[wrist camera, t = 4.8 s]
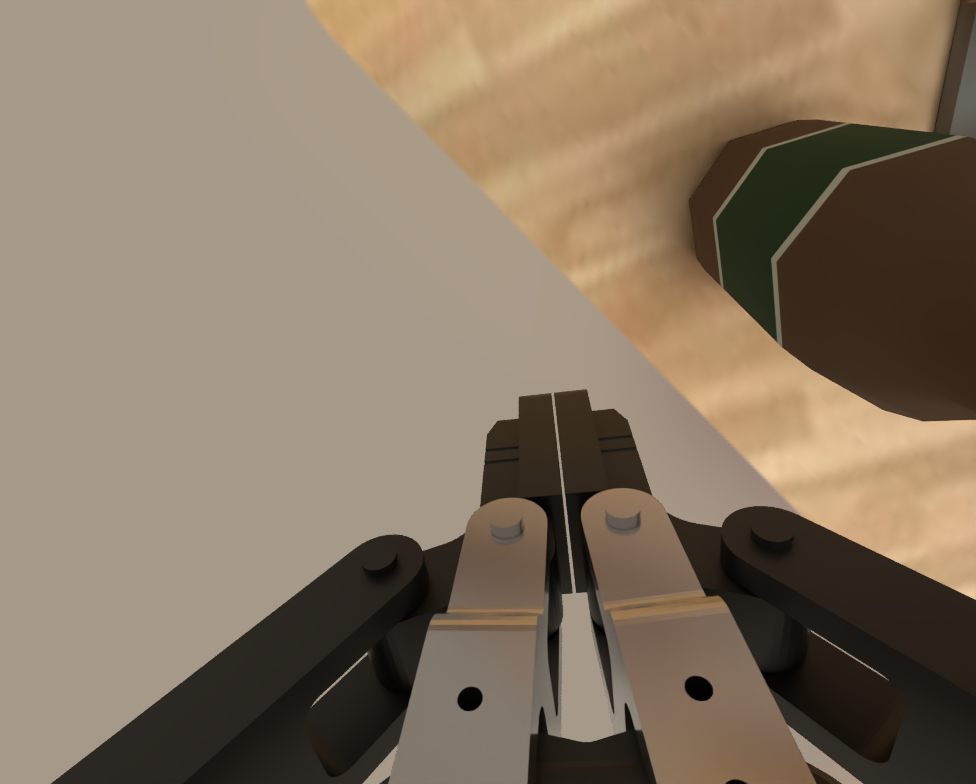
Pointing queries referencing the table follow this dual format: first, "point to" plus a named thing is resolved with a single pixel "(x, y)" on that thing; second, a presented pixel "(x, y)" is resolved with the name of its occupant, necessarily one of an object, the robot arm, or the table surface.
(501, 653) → the robot arm
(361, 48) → the table surface
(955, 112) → the cradle
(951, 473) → the table surface
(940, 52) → the table surface
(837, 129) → the beer bottle
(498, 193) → the table surface
